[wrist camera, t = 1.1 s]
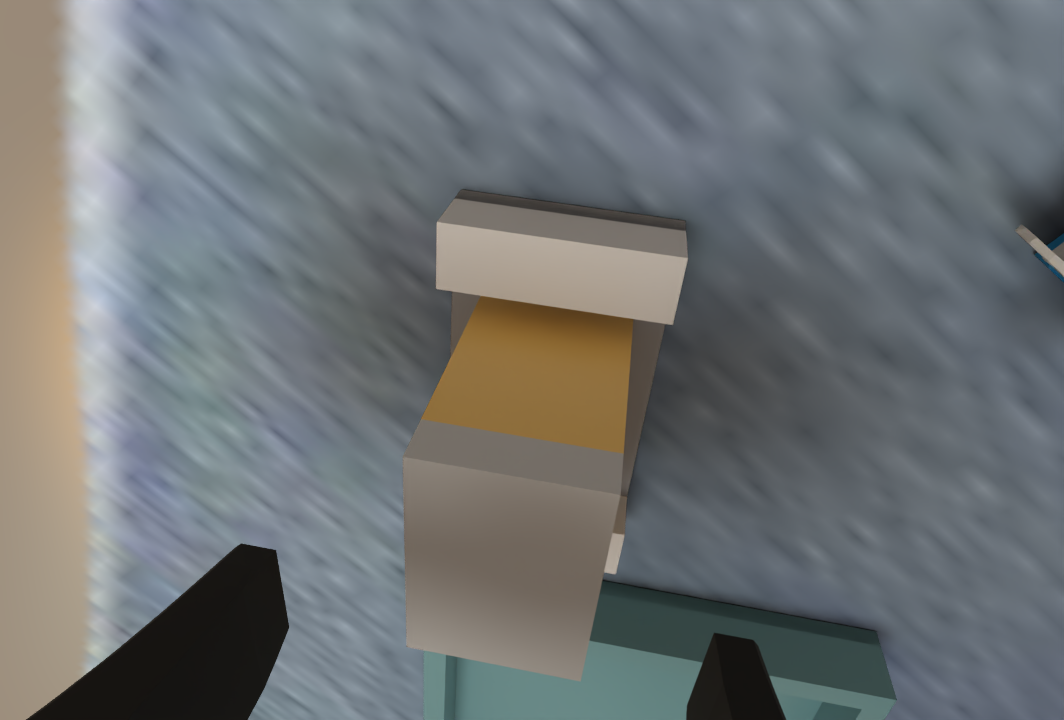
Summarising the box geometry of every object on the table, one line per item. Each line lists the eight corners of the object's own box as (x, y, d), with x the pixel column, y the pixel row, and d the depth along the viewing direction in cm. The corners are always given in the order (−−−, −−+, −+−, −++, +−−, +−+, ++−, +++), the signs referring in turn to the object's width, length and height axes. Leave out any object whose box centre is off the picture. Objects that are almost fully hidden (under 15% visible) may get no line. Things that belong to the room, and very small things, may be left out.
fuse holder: (685, 221, 15) (688, 258, 13) (619, 519, 20) (615, 574, 18) (460, 189, 15) (436, 221, 14) (451, 489, 20) (433, 540, 19)
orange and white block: (633, 312, 16) (620, 495, 11) (602, 475, 18) (580, 681, 13) (483, 289, 16) (402, 456, 11) (474, 453, 19) (406, 647, 14)
